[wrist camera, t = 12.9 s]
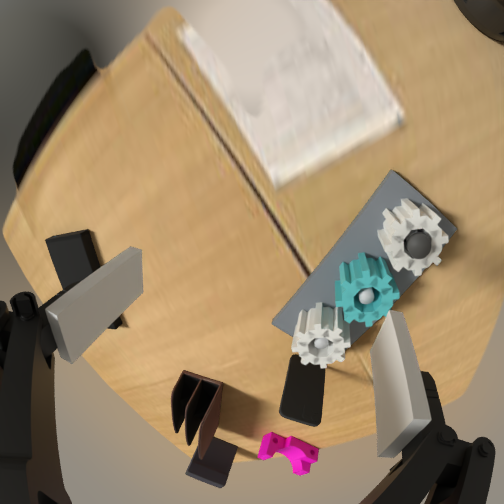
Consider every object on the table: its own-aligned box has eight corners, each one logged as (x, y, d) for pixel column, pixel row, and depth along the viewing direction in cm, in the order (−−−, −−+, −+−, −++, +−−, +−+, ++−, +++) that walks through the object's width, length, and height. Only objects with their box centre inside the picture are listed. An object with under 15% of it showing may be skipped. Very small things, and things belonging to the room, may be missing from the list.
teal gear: (359, 240, 41) (364, 257, 36) (403, 274, 42) (411, 293, 36) (323, 285, 46) (322, 305, 40) (366, 314, 46) (369, 336, 40)
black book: (84, 318, 67) (78, 324, 64) (53, 235, 59) (44, 239, 56) (123, 322, 63) (116, 329, 60) (89, 228, 55) (79, 233, 52)
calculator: (201, 436, 76) (184, 474, 63) (204, 431, 74) (187, 471, 61) (234, 450, 75) (220, 489, 62) (238, 445, 74) (224, 486, 60)
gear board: (390, 169, 38) (406, 178, 30) (453, 225, 38) (476, 246, 30) (273, 319, 52) (263, 350, 44) (333, 355, 52) (332, 389, 45)
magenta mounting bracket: (318, 448, 67) (316, 470, 60) (303, 454, 70) (300, 475, 63) (277, 428, 66) (272, 451, 59) (263, 435, 69) (257, 457, 62)
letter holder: (224, 381, 62) (203, 429, 50) (219, 424, 71) (202, 464, 58) (183, 368, 64) (157, 412, 51) (185, 413, 72) (165, 451, 60)
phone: (290, 354, 54) (277, 415, 41) (292, 352, 54) (279, 413, 41) (324, 367, 54) (318, 428, 41) (326, 364, 54) (321, 426, 40)
